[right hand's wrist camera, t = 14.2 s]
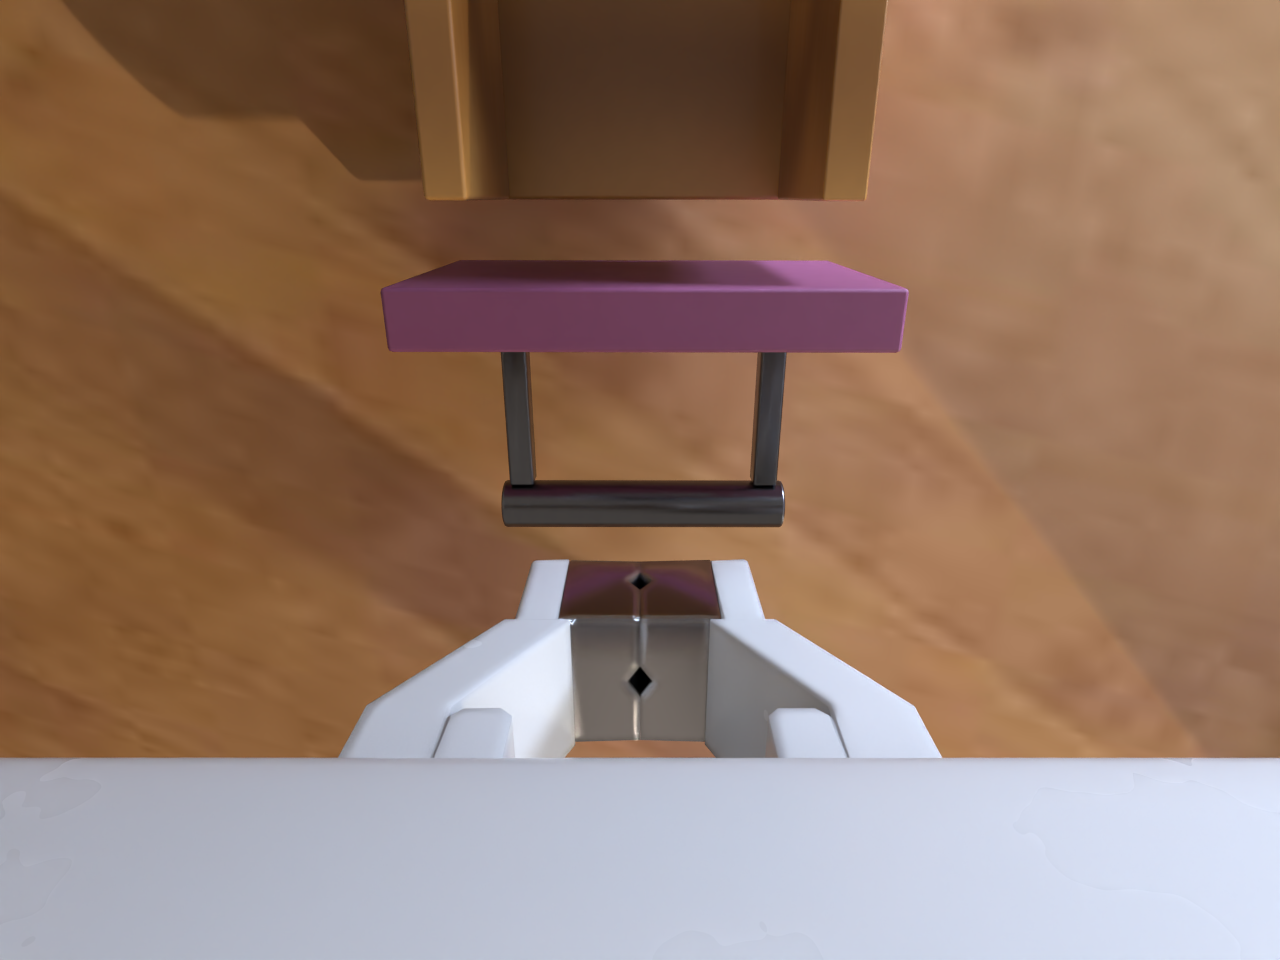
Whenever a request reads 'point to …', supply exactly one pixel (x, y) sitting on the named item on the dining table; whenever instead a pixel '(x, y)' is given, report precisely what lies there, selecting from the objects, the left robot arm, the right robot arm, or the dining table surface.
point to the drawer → (644, 169)
